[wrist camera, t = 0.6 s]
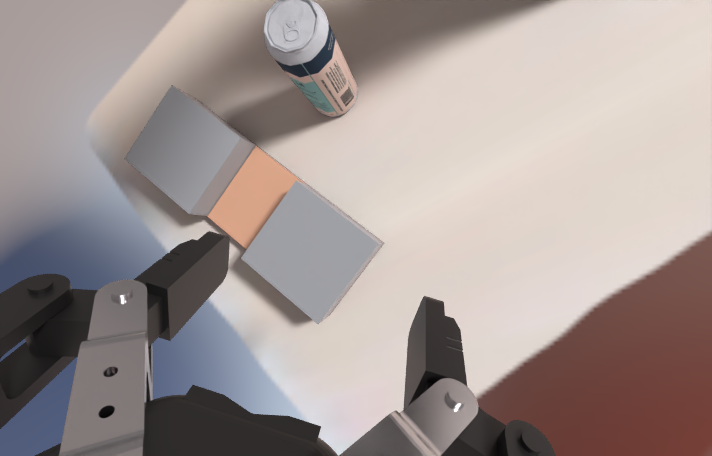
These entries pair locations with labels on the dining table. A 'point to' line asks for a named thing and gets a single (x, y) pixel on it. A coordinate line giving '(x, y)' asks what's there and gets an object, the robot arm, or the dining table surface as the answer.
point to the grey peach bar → (254, 203)
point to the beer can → (310, 55)
